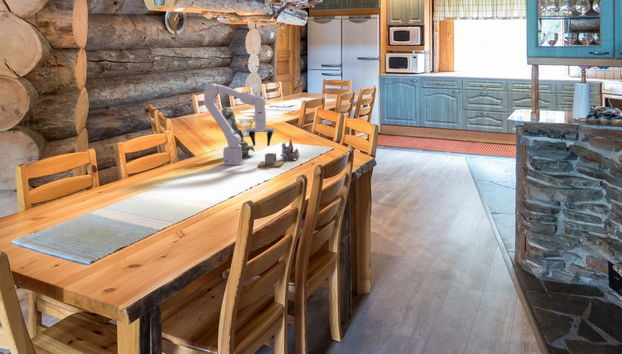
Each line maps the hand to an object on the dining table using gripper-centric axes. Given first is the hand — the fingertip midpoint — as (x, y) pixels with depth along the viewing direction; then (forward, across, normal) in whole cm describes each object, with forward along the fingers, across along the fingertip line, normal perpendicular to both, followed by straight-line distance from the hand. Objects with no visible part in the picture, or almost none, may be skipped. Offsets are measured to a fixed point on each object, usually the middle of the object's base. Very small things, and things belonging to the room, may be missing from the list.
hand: (261, 145), depth 301 cm
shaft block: (+9, +6, -6) cm, 13 cm away
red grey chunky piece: (+10, +13, +11) cm, 20 cm away
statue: (+10, -17, +18) cm, 27 cm away
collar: (+8, +6, -6) cm, 12 cm away
